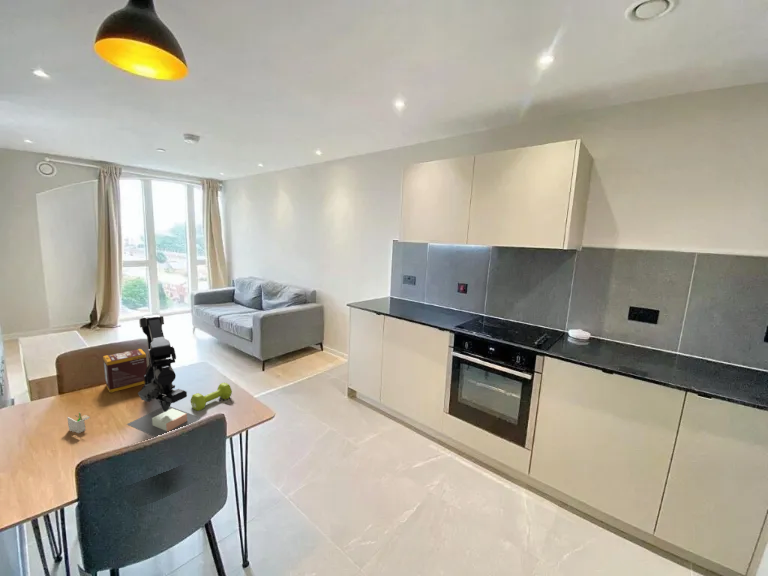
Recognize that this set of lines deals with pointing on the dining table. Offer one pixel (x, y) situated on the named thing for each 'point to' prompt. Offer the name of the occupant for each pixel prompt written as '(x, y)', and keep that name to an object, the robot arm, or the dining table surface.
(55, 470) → the dining table surface
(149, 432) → the mat
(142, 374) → the supplement box
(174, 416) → the slab
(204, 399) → the dumbbell
